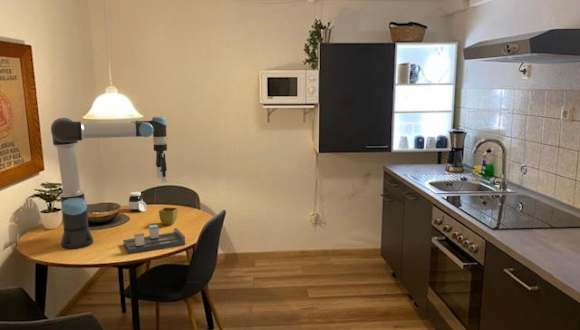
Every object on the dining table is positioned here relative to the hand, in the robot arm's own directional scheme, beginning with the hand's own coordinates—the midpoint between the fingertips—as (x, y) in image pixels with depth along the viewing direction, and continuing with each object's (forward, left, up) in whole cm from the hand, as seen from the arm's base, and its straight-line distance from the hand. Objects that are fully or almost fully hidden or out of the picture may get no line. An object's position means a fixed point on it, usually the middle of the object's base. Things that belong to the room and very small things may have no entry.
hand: (161, 180), depth 270 cm
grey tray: (-13, -32, -27) cm, 44 cm away
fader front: (-21, -36, -24) cm, 48 cm away
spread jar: (-7, +41, -28) cm, 50 cm away
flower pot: (+3, +1, -28) cm, 28 cm away
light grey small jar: (-12, -28, -24) cm, 39 cm away
